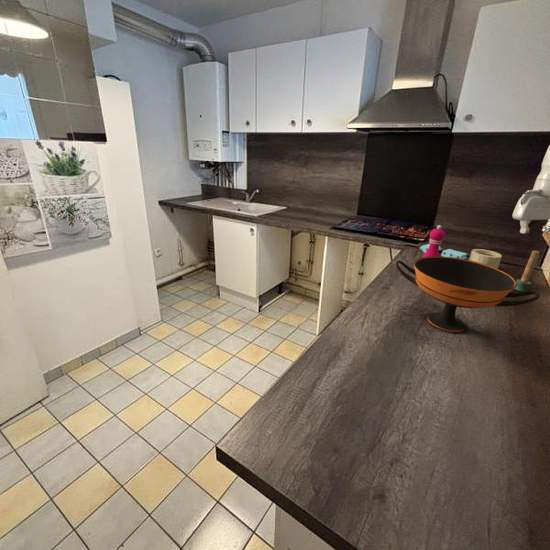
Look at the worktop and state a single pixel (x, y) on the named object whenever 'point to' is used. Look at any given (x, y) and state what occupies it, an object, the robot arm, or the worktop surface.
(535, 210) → the robot arm
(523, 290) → the brush
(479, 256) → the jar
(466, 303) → the cup
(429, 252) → the pepper mill
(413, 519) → the worktop surface
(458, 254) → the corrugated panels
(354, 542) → the worktop surface
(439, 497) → the worktop surface
